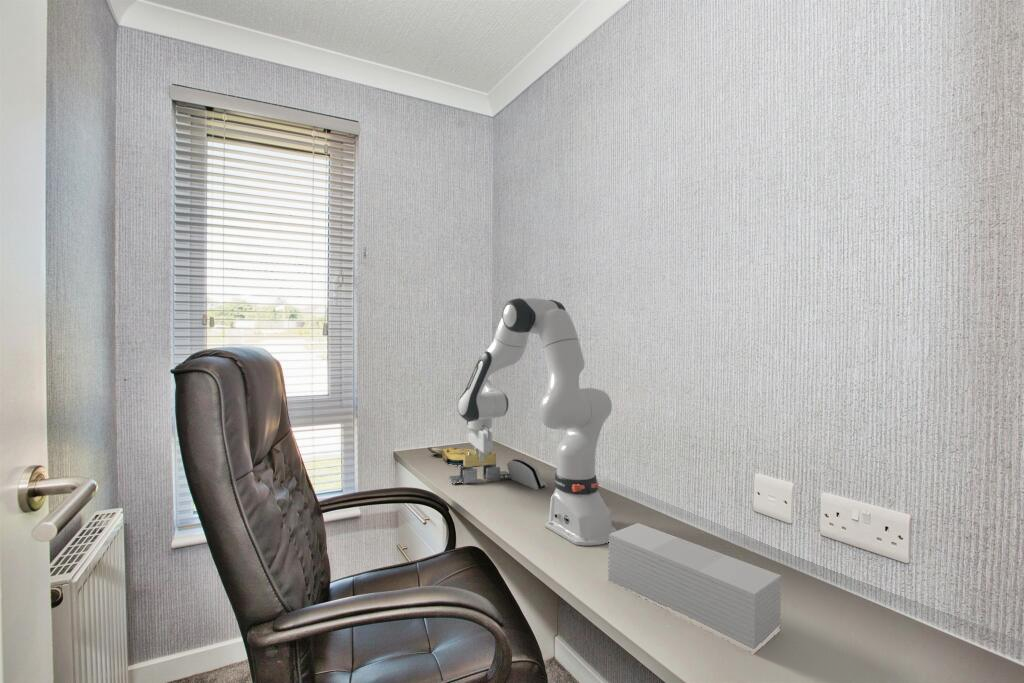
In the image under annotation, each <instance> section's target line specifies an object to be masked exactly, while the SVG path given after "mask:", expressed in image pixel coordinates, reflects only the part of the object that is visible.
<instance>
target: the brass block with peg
mask: <svg viewBox="0 0 1024 683" xmlns="http://www.w3.org/2000/svg"><path fill="white" fill-rule="evenodd" d="M479 454H480V453H475V454H471V452H468V454H463V465H464V466H465V467H468V466H473V467H477V466H483V465H491V464H496V465H497V453H496V452H495V451H492V453H485V456H484V461H483V462H480V461H479Z"/></svg>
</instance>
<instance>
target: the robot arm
mask: <svg viewBox="0 0 1024 683" xmlns="http://www.w3.org/2000/svg"><path fill="white" fill-rule="evenodd" d="M501 314H502V315H501V318H500V320H499V323H498V326H497V328H496V330H495V331H496V332H495V334H494V337H493V340H492V342H491V343H490V345H489V347H488V348H487V349H486V350H485V351H484V352H483V353H481V355H480V356H479V358H478V360H477V362H476V364H475V366H474V369H473V371H472V374H471V376H470V378H469V380H468V382H467V385H466V387H465V389H464V391H463V392H462V394H461V396H460V397H459V399H458V401H457V412H458V415H460V417H462V419H463V420H465V422H466V426H467V441H468V443H469V444H470V445H472V446H473V447H474V449H473V450H475V453H480V454H479V461H480V462H483V461H484V456H485V453H492V452H494V451H493V450H494V448H493V447H494V446H493V443H494V442H493V441H494V440H493V433H492V432H491V431H490V430H489V429H492V427H493V419H495V418H501V417H504V416H505V415H506V414H507V412H508V409H509V398H508V396H507V394H505V393H504V392H503V391H500V390H498V389H497V388H496V387H494V385H493V384H492V382H491V380H488V379H489V377H491V376H492V375H493V374H494V373H495V372H497V371H500V370H502V369H505V368H507V367H510V366H513V365H515V364H516V363H518V362H519V361H520V360H521V359H522V357H523V356H524V353H525V350H526V346H527V343H528V339H529V336H530V334H538V336H539V338H540V341H541V345H542V350H543V355H544V356H543V357H544V360H545V364H546V369H547V386H546V392H545V394H544V396H543V398H542V399H541V400H540V403H539V407H538V413H539V414H538V415H539V418H540V420H541V423H542V424H544V426H545V427H547V428H549V429H553V430H560V431H566V433H565V435H564V437H563V438H562V439H561V441H560V442H559V443H558V446H557V448H556V472H555V474H554V487H555V489H554V492H553V493H552V495H551V497H550V505H549V514H548V516H549V517H548V520H546V521H545V523H544V527H545V528H546V529H548V530H550V531H551V532H553V533H554V534H557V535H559V536H560V537H562V538H564V539H565V540H567V541H569V542H571V543H572V544H574V545H577V546H600V545H605V543H606V544H609V543H608V542H609V539H610V538H609V534H611V533H613V532H616V531H618V530H617V529H616V528H615V526H614V525H613V522H612V513H613V512H612V508H611V507H610V506H607V505H606V503H605V501H604V498H602V496H601V494H600V492H599V488H600V486H599V485H600V483H598V478H597V476H596V454H597V453H596V452H597V445H598V441H599V438H600V435H601V432H602V428H603V426H604V424H605V422H606V420H608V418H609V416H610V415H611V413H612V410H613V409H612V408H613V403H612V400H611V398H610V396H609V395H608V393H607V392H605V391H604V390H601V389H597V388H593V387H585V388H580V375H581V373H582V371H584V368H585V366H586V364H585V359H584V356H583V352H582V348H581V344H580V339H579V336H578V333H577V330H576V328H575V325H574V323H573V320H572V318H571V316H570V314H569V312H568V311H567V310H566V308H565V306H564V305H563V304H562V303H561V302H559V301H557V300H553V299H543V298H536V297H529V298H528V297H527V298H519V297H518V298H513V299H510V300H508V301H507V302H506V303H505V304H504V306H503V308H502V313H501Z"/></svg>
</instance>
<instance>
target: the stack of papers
mask: <svg viewBox="0 0 1024 683" xmlns="http://www.w3.org/2000/svg"><path fill="white" fill-rule="evenodd" d="M609 538H610V539H609V543H608V554H607V555H608V563H607V564H608V565H607V567H608V569H607V570H608V571H607V572H608V573H607V577H608V579H607V581H608V582H609V581H611V582H613V583H615V584H617V585H619V586H621V587H624V588H626V589H629V590H631V591H633V592H635V593H637V594H639V595H641V596H644V597H646V598H648V599H650V600H652V601H654V602H656V603H658V604H660V605H663V606H665V607H669V608H671V609H672V610H674V611H677V612H679V613H681V614H684V615H686V616H688V617H689V618H691V619H694V620H696V621H698V622H700V623H702V624H704V625H706V626H708V627H710V628H712V629H714V630H716V631H718V632H720V633H722V634H724V635H726V636H728V637H730V638H732V639H734V640H736V641H738V642H740V643H742V644H744V645H746V646H748V647H750V648H752V649H755V648H756V647H757V646H758V645H759V644H760V643H762V642H763V641H764V640H765V639H766V638H767V637H768V636H769V635H770V634H771V633H772V632H773V631H774V630H775V629H776V628H777V627H778V626H779V625H780V626H781V621H782V620H781V615H782V614H781V611H782V607H781V606H782V602H781V600H782V575H781V574H778V573H776V572H773V571H770V570H768V569H765V568H761V567H759V566H757V565H754V564H751V563H749V562H746V561H743V560H740V559H737V558H735V557H732V556H729V555H726V554H723V553H721V552H718V551H715V550H713V549H710V548H707V547H705V546H702V545H699V544H697V543H694V542H691V541H688V540H686V539H683V538H680V537H677V536H674V535H672V534H669V533H667V532H664V531H662V530H658V529H656V528H653V527H650V526H647V525H645V524H641V523H639V522H637V523H634V524H631V525H629V526H626V527H624V528H621V529H619V530H617V531H616V532H613V533H611V534H609ZM611 582H610V583H611ZM613 583H612V584H613ZM615 584H614V585H615ZM617 585H616V586H617ZM619 586H618V587H619ZM621 587H620V588H621Z"/></svg>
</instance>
